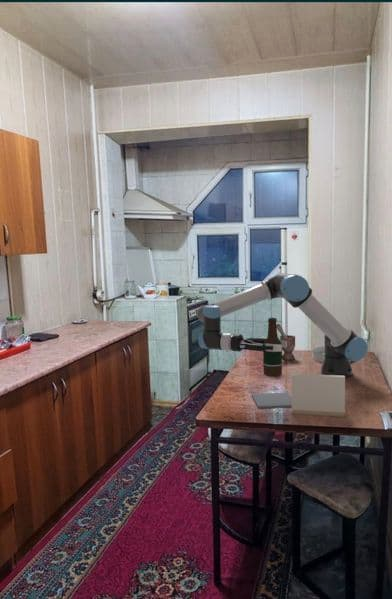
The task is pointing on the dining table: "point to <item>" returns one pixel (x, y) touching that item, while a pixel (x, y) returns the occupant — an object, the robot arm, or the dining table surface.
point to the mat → (272, 400)
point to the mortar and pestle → (290, 344)
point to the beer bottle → (272, 352)
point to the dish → (319, 354)
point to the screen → (318, 394)
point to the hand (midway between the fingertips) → (284, 346)
